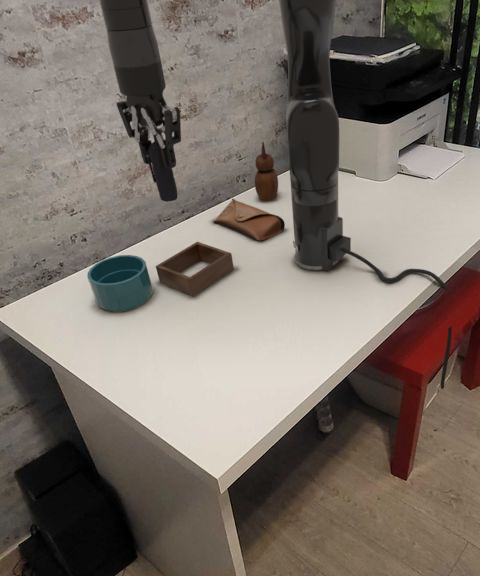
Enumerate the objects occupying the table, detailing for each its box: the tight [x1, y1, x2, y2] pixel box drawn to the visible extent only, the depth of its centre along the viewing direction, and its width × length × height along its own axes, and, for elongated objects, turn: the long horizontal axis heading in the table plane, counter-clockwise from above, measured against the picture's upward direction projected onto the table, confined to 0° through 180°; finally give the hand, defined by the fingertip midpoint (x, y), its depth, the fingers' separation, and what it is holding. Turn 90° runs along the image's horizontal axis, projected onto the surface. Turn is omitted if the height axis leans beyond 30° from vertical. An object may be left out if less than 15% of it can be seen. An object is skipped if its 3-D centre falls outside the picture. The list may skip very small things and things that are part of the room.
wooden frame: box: [155, 241, 235, 297], centre depth 110 cm, size 10×12×4 cm
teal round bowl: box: [87, 254, 154, 313], centre depth 105 cm, size 11×11×6 cm
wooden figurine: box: [254, 141, 279, 201], centre depth 135 cm, size 7×6×15 cm
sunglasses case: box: [212, 198, 286, 242], centre depth 127 cm, size 18×7×7 cm, turn 47°
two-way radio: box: [142, 135, 178, 203], centre depth 94 cm, size 6×4×15 cm
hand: (159, 164), depth 95 cm, fingers closed on two-way radio, 5 cm apart
